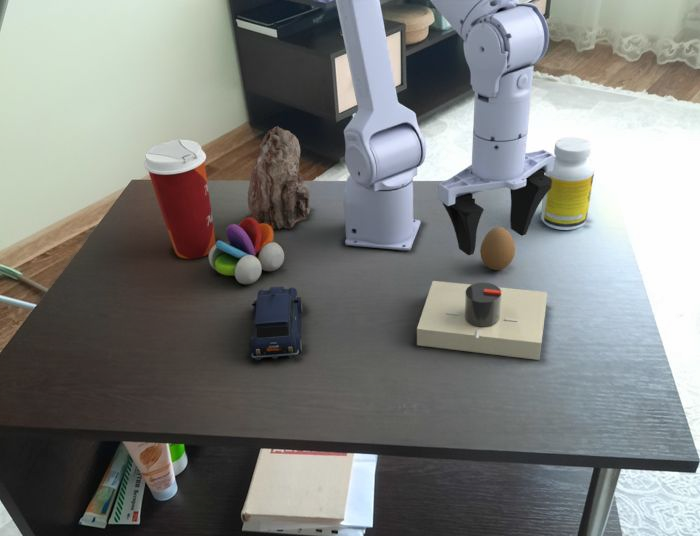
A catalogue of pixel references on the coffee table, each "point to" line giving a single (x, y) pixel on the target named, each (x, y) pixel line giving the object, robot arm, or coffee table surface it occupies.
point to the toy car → (276, 323)
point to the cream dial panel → (499, 339)
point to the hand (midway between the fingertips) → (492, 241)
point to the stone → (278, 182)
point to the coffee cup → (183, 195)
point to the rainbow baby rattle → (247, 251)
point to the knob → (482, 304)
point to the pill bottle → (569, 185)
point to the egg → (497, 249)
